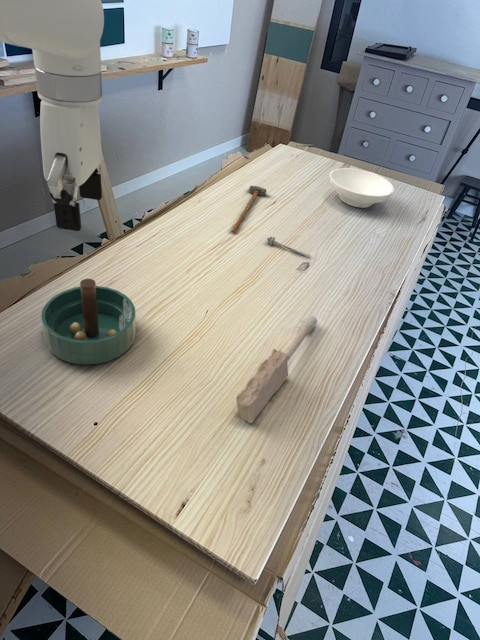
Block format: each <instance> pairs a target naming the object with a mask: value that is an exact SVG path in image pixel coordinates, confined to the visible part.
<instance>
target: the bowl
mask: <svg viewBox="0 0 480 640" xmlns="http://www.w3.org/2000/svg"><path fill="white" fill-rule="evenodd" d="M329 183H330V185H331V187H332V189H333V190H334V191H335V192H336V193H337V194H338V195H339V198H340V200H341V201H342V202H343V203H345V204H347V205H348V206H352V207H355V208H363V209H364V208H369V207H371V206H372V205H374V204H378V203H382V202H385V201H386V200H387V199H389V198H390V197H391V196H392V195H393V193H394V191H395V186H394V185H393V184H392V182H390V181H389V180H388V179H386V178H385V177H383V176H382V175H380V174H378V173H377V174H376V173H374V172H372V171H368V170H365V169H360V168H354V167H353V168H352V167H341V168H335V169H333V170H331V171H330V172H329Z"/></svg>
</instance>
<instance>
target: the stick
mask: <svg viewBox="0 0 480 640" xmlns="http://www.w3.org/2000/svg"><path fill="white" fill-rule="evenodd" d="M96 286H97V285H96V281H95V280H94V279H92V278H84V279H82V280H81V281H80V282H79V287H80V289H81V299H82V309H83V319H84V330H85V333H86V335H87V337H89V338H94V337H96V336H98V335H99V325H98V311H97V297H96Z"/></svg>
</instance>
